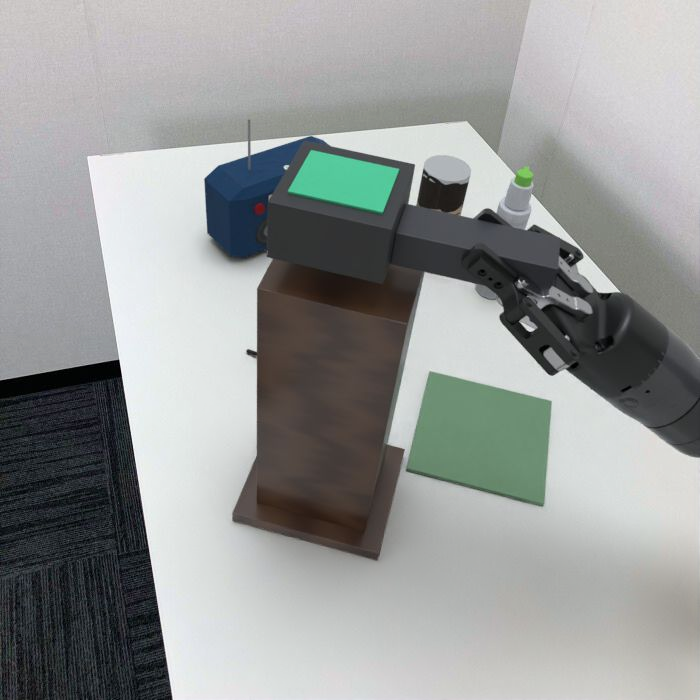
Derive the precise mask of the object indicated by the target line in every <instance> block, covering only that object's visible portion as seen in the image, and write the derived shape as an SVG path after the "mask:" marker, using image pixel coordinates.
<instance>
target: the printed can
mask: <svg viewBox="0 0 700 700" xmlns="http://www.w3.org/2000/svg"><path fill="white" fill-rule="evenodd" d="M422 167H423V168H422V174H421V178H420V184H419V188H418V189H419V190H418V194H417V200H416V205H415V206H419V207H424V208H428V209H433V210H437V211H442V212H446V213H451V214H455V215H460V216H462V211H463V207H464V204H465V199H466V195H467V190H468V187H469V182H470V178H471V175H472V168H471V167H470V165H469V164H468V163H467V162H466V161H465V160H463V159H461V158H459V157H456V156H453V155H447V154H437V155H433V156H430V157H428V158H426V160H425V161H424V162H423V166H422Z"/></svg>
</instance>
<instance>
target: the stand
mask: <svg viewBox="0 0 700 700" xmlns="http://www.w3.org/2000/svg"><path fill="white" fill-rule="evenodd" d="M425 273H426V272H423V271H418V270H414V269H410V268H405V267H401V266H397V265H392V264H391V263H390V265H389V268H388V271H387V274H386V277H385V280H384V283H383V284H380V283H375V282H371V281H367V280H362V279H358V278H354V277H350V276H345V275H341V274H337V273H332V272H328V271H324V270H320V269H315V268H311V267H307V266H302V265H298V264H294V263H289V262H285V261H281V260H277V259H272V258H271V261H270V263H269V264H268V267H267V269H266V271H265V273H264V275H263V276H262V279H261V280H260V282H259V284H258V286H257V288H256V352H257V356H256V456H255V459H254V461H253V462H252V466H251V467H250V470H249V473H248V474H247V477H246V479H245V483H244V485H243V487H242V489H241V491H240V494H239V496H238V499H237V501H236V504H235V506H234V508H233V510H232V514H231V515H232V516H231V517H232V521H233V522H236V523H240V524H243V525H247V526H251V527H254V528H257V529H262V530H265V531H269V532H272V533H276V534H279V535H284V536H286V537H291V538H294V539H298V540H302V541H305V542H309V543H312V544H316V545H320V546H324V547H326V548H330V549H334V550H337V551H341V552H345V553H348V554H353V555H355V556H360V557H363V558H367V559H370V560H374V561H378V560H379V556H380V552H381V548H382V544H383V540H384V536H385V532H386V528H387V524H388V520H389V517H390V513H391V512H390V511H391V509H392V504H393V499H394V496H395V492H396V487H397V483H398V480H399V475H400V472H401V468H402V464H403V458H404V455H405V451H406V449H405V448H402V447H399V446H396V445H391V444H389V441H390V436H391V430H392V426H393V422H394V417H395V412H396V407H397V402H398V398H399V395H400V389H401V385H402V380H403V375H404V371H405V367H406V361H407V357H408V351H409V348H410V347H409V346H410V343H411V342H410V341H411V338H412V332H413V329H414V323H415V319H416V314H417V310H418V305H419V301H420V295H421V291H422V287H423V282H424V277H425Z"/></svg>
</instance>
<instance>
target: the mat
mask: <svg viewBox="0 0 700 700" xmlns="http://www.w3.org/2000/svg"><path fill="white" fill-rule="evenodd" d="M422 397H423V398H422V401H421V405H420V410H419V414H418V418H417V422H416V426H415V429H414V430H415V431H414V435H413V439H412V444H411V447H410V451H409V455H408V460H407V464H406V469H405V471H407V472H409V473H410V472H411V473H414V474H418V475H422V476H426V477H430V478H434V479H437V480H441V481H445V482H449V483H451V484H457V485H460V486H464V487H467V488H472V489H475V490H480V491H483V492H487V493H491V494H495V495H499V496H502V497H506V498H510V499H514V500H517V501H522V502H525V503H530V504H533V505H537V506H541V507H544V505H545V499H546V498H545V496H546V486H547V485H546V483H547V469H548V458H549V457H548V454H549V443H550V430H551V429H550V428H551V416H552V414H551V413H552V401H553V400H549V399H545V398H540V397H537V396H533V395H529V394H525V393H520V392H517V391H512V390H509V389H504V388H501V387H496V386H493V385H489V384H484V383H480V382H476V381H472V380H469V379H463V378H459V377H456V376H451V375H447V374H443V373H440V372H436V371H431V370H429V372H428V376H427V381H426V384H425V389H424V393H423V396H422Z"/></svg>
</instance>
